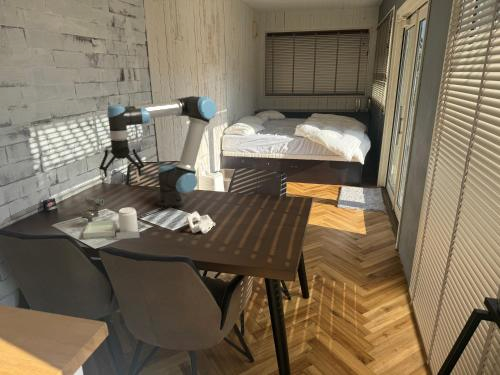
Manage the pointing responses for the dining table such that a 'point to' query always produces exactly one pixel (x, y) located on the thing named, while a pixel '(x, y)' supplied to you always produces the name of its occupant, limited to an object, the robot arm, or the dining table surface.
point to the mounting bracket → (200, 223)
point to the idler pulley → (89, 214)
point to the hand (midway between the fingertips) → (123, 182)
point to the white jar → (128, 219)
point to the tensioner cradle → (129, 233)
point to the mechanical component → (95, 203)
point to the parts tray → (101, 229)
